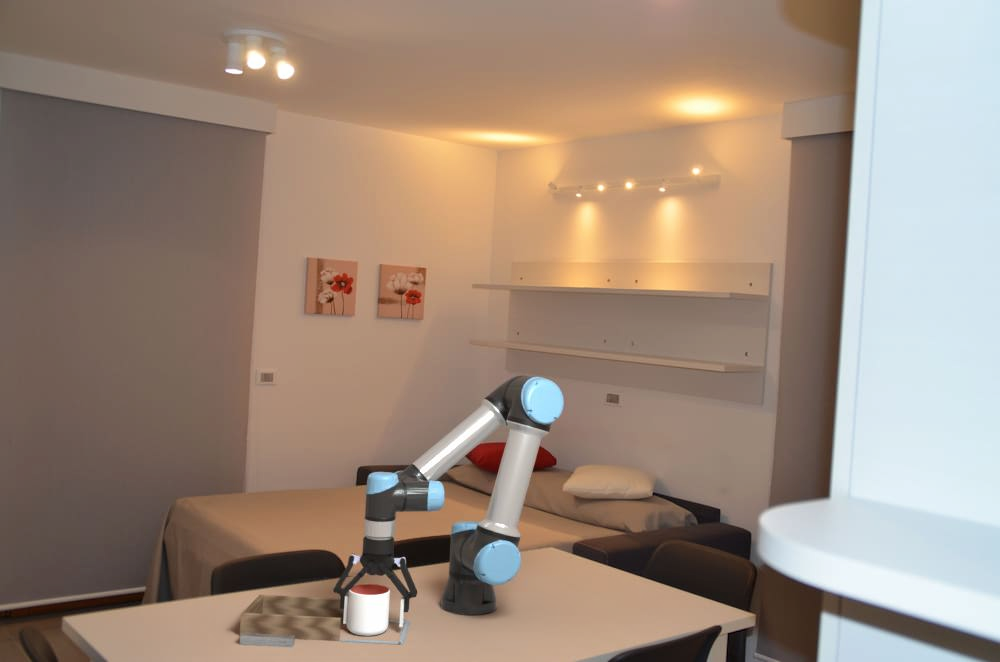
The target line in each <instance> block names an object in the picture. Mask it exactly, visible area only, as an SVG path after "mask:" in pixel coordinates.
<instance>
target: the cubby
mask: <svg viewBox="0 0 1000 662" xmlns="http://www.w3.org/2000/svg"><path fill="white" fill-rule="evenodd" d="M343 619H344V609H341V608H340V598H333V597H331V598H330V597H314V596H313V597H311V596H294V595H277V594H276V595H275V594H258V596H257V597H256V598H255V599H254V600H253V601H252V602H251V603H250V604H249V605H248V606H247V607H246V608H245V610H243V612H241V614H240V622H239V623H240V625H239V626H240V627H239V636H240V635H241V634H242V633H243V632H244V631H245V630H254V633H256V634H275V635H294V636H295V640H298V639H299V640H311V641H314V640H315V641H317V640H318V641H332V642H333V641H334V642H339V641H340V640H341V637H340V636H341V625H342V622H341V621H343Z"/></svg>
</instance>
